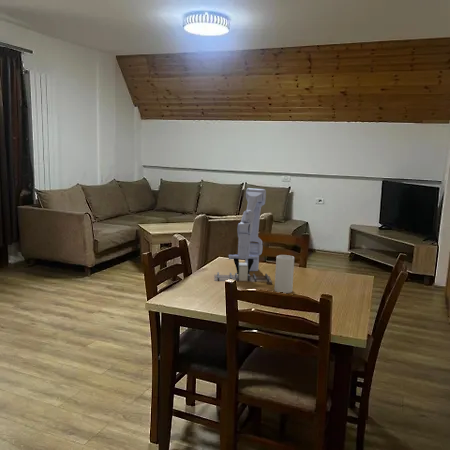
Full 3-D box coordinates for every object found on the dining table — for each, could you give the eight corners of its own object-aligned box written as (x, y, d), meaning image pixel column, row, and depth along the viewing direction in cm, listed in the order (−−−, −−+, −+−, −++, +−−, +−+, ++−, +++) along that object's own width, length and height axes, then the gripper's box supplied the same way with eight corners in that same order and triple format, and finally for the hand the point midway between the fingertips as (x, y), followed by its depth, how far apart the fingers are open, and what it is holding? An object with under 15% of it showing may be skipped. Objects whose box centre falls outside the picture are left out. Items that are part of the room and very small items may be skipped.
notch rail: (214, 276, 230) (214, 271, 230) (269, 277, 231) (269, 273, 231) (214, 282, 219) (214, 277, 219) (272, 284, 220) (272, 279, 220)
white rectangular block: (237, 276, 229) (238, 262, 228) (246, 276, 229) (247, 262, 228) (238, 280, 221) (239, 266, 220) (247, 280, 221) (248, 266, 220)
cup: (291, 293, 207) (293, 259, 204) (273, 292, 208) (275, 258, 206) (292, 288, 215) (294, 255, 212) (275, 287, 216) (277, 254, 214)
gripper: (229, 248, 218) (228, 275, 220) (259, 249, 219) (258, 276, 221) (228, 245, 225) (227, 271, 227) (258, 245, 226) (256, 272, 228)
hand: (242, 273), depth 225 cm, fingers closed on white rectangular block, 4 cm apart
